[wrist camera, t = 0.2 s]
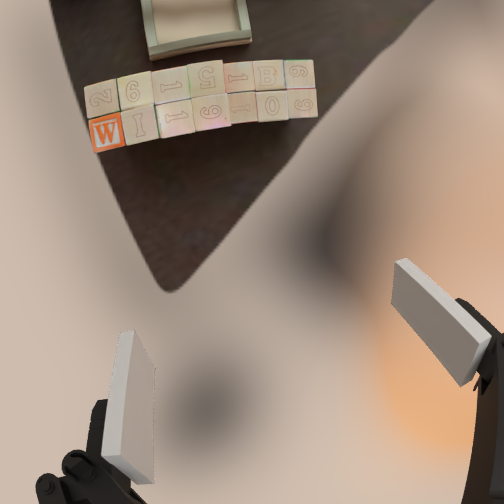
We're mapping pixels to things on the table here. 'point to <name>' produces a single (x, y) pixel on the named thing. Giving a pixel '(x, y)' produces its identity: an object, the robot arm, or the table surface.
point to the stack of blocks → (197, 99)
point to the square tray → (193, 25)
